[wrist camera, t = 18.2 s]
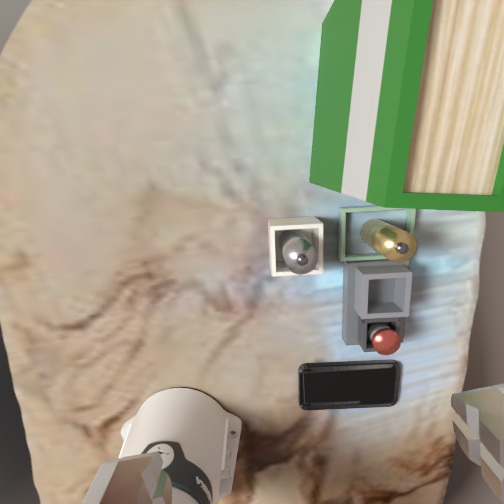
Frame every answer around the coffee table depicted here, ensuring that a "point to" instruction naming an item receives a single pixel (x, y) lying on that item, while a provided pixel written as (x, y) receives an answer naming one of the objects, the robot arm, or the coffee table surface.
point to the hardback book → (412, 104)
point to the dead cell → (298, 252)
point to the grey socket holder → (374, 298)
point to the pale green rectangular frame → (343, 210)
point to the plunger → (383, 338)
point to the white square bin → (309, 228)
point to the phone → (348, 384)
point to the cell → (389, 240)
